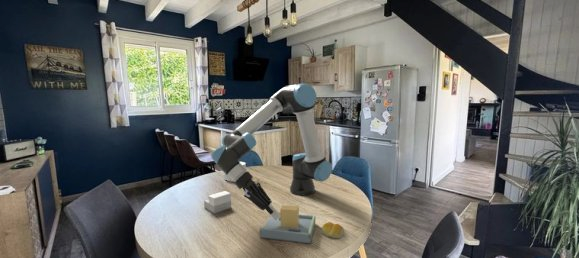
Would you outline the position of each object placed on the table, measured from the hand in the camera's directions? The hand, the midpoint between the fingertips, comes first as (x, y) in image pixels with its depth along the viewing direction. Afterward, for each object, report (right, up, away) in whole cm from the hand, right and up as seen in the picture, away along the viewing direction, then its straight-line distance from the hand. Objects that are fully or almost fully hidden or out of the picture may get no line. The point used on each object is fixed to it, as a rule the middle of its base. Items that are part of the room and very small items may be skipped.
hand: (278, 217), depth 102 cm
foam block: (-36, -4, +23) cm, 43 cm away
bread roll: (+23, -6, -2) cm, 23 cm away
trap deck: (+5, -5, 0) cm, 7 cm away
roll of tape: (-35, +1, +74) cm, 82 cm away
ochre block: (+5, -3, 0) cm, 6 cm away
